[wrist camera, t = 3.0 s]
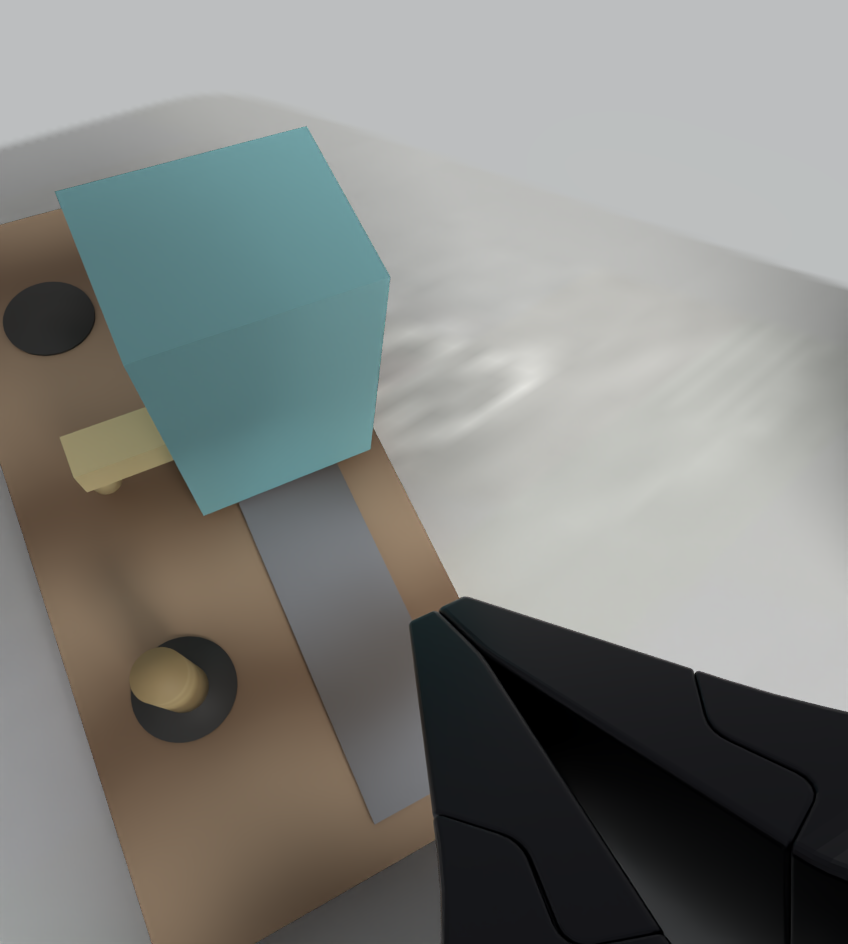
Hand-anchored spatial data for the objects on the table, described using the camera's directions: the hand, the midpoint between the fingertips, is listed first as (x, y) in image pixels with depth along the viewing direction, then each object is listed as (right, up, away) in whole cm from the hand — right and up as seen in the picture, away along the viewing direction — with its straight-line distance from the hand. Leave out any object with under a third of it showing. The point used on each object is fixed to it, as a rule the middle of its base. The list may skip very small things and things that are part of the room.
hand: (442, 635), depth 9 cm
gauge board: (-7, +1, +13) cm, 14 cm away
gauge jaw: (-6, +3, +11) cm, 13 cm away
